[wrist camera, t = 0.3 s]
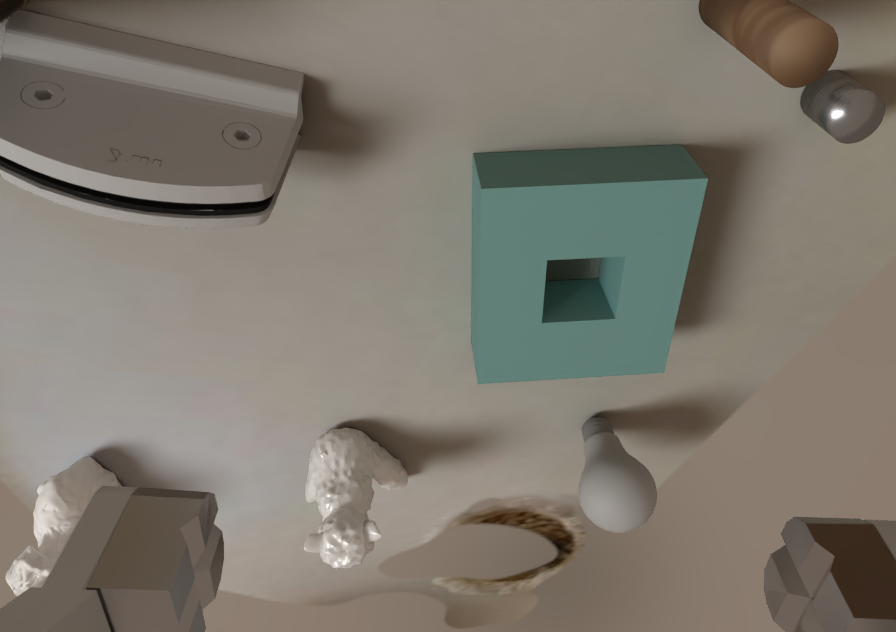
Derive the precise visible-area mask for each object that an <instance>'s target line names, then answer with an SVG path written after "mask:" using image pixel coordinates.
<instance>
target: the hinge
mask: <svg viewBox="0 0 896 632" xmlns="http://www.w3.org/2000/svg"><path fill="white" fill-rule="evenodd" d="M303 84H304V74H303V73H299V72H295V71H290V70H286V69H282V68H277V67H273V66H268V65H264V64H259V63H255V62H251V61H246V60H242V59H237V58H233V57H228V56H224V55H220V54H215V53H211V52H206V51H202V50H197V49H193V48H188V47H184V46H180V45H175V44H171V43H166V42H162V41H157V40H153V39H149V38H144V37H140V36H135V35H131V34H126V33H122V32H118V31H113V30H109V29H104V28H100V27H95V26H91V25H86V24H82V23H78V22H73V21H69V20H64V19H60V18H55V17H51V16H47V15H42V14H38V13H33V12H29V11H24V10H20V9H19V10H18V11H16V12H15V13H13V14H12V16H11V18H10V20H9V21H8V23H7V25H6V28H5V35H4V45H3V54H2V58H1V61H0V174H1V176H2V177H3V178H4V179H5V180H6V181H8V182H10V183H12V184H14V185H16V186H18V187H20V188H22V189H24V190H26V191H29V192H31V193H33V194H36V195H38V196H41V197H43V198H45V199H48V200H50V201H53V202H56V203H59V204H62V205H64V206H67V207H71V208H74V209H77V210H80V211H84V212H87V213H90V214H95V215H99V216H103V217H107V218H111V219H116V220H121V221H126V222H132V223H139V224H146V225H153V226H163V227H174V228H192V229H218V228H237V227H246V226H256V225H260V224H262V223H264V222H265V221H267V219H268V218H269V216H270V214H271V212H272V210H273V207H274V205H275V203H276V200H277V197H278V195H279V192H280V190H281V187H282V184H283V182H284V179H285V177H286V174H287V172H288V169H289V166H290V164H291V161H292V159H293V156H294V153H295V151H296V148H297V146H298V143H299V140H300V138H301V135H298V133H299V130H300V128H301V125H302V122H303V111H302V101H301V94H302V89H303Z"/></svg>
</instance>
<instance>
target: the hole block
mask: <svg viewBox="0 0 896 632" xmlns="http://www.w3.org/2000/svg"><path fill="white" fill-rule="evenodd" d="M707 182H708V177H707V176H706V175H705V174H704V172H703V171H702V170H701V169H700V167H699V166H698V165H697V163H696V162H695V161H694V160H693V158H692V157H691V156H690V155H689V153H688V152H687V151H686V150H685V148H684V147H683V146H682V145H681V144H678V145H655V146H632V147H609V148H587V149H564V150H541V151H518V152H495V153H473V192H472V297H471V344H472V350H473V356H474V363H475V369H476V375H477V382H478V384H486V383H502V382H519V381H535V380H552V379H568V378H585V377H601V376H618V375H634V374H651V373H664V370H665V366H666V361H667V357H668V353H669V348H670V344H671V339H672V335H673V331H674V326H675V322H676V318H677V313H678V309H679V304H680V300H681V296H682V291H683V287H684V283H685V278H686V274H687V269H688V265H689V261H690V256H691V252H692V248H693V243H694V239H695V235H696V230H697V226H698V221H699V217H700V213H701V208H702V204H703V200H704V195H705V191H706V186H707ZM584 258H601V262H600V269H599V276H598V279H581V280H562V281H545V279H546V268H547V260H564V259H584Z"/></svg>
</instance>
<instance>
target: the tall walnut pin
mask: <svg viewBox="0 0 896 632" xmlns="http://www.w3.org/2000/svg"><path fill="white" fill-rule="evenodd" d="M699 13H700V17H701V19H702V20H703V22H704V23H705V24H706V25H707V26H709V27H710V28H711V29H712V30H714V31H715V32H716V33H717V34H719V35H720V36H721V37H722V38H724V39H725V40H726V41H727V42H729V43H730V44H731V45H732V46H734V47H735V48H736V49H737V50H739V51H740V52H741V53H742V54H744V55H745V56H746V57H747V58H749V59H750V60H751V61H752V62H754V63H755V64H756V65H757V66H759V67H760V68H761V69H762V70H764V71H765V72H766V73H767V74H769V75H770V76H771V77H772V78H774V79H775V80H776V81H777V82H779V83H780V84H781V85H783V86H786V87H790V88H799V87H803V86H806V85H809V84H811V83H813V82H815V81H816V80H818V79H819V78H820V77H821V76H823V75H824V74H825V73H826V72H827V70H828V69H829V68H830V66H831V65H832V63H833V61H834V59H835V57H836V54H837V51H838V37H837V34H836V32H835V30H834V29H833V27H831V26H830V25H829V24H827V23H826V22H824V21H822V20H820V19H819V18H817V17H815V16H813V15H812V14H810V13H808V12H807V11H805V10H803V9H801V8H800V7H798V6H796V5H795V4H793V3H791V2H789V1H788V0H700V2H699Z"/></svg>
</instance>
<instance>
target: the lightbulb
mask: <svg viewBox="0 0 896 632" xmlns="http://www.w3.org/2000/svg"><path fill="white" fill-rule="evenodd" d="M582 433H583V438H584V453H585V467H584V470H583V472H582V475H581V479H580V482H579V501H580V504H581V507H582V509H583V511H584V513H585V514H586V515H587V517H588V518H589V519H590V520H591V521H592V522H593V523H594V524H596V525H597V526H599V527H600V528H602V529H605V530H607V531H610V532H628V531H632V530H635V529H636V528H638V527H640V526H641V525H643V524H644V523H645V522H646V521H647V520H648V519H649V518H650V516H651V515H652V513H653V511H654V508H655V505H656V500H657V491H656V485H655V482H654V479H653V477H652V475H651V474H650V472H649V471H648V469H647V468H646V467H645V466H644V465H643V464H641V463H640V462H639V461H638V460H637V459H635V458H634V457H632V456H631V455H629V454H628V453H627V452H626V451H625V449H624V448H623V446H622V444H621V442H620V440H619V438H618V437H617V436H616V435H615V434H614V431H613V429H612V427H611V425H610V423H609V421H608V420H606V419H605V418H602V417H594V418H591V419H589V420H587V421H586V422H585V423H584V425H583V426H582Z"/></svg>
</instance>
